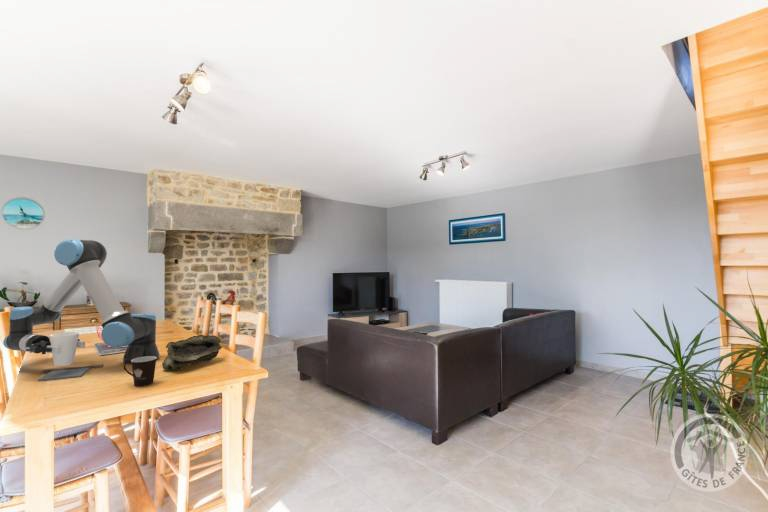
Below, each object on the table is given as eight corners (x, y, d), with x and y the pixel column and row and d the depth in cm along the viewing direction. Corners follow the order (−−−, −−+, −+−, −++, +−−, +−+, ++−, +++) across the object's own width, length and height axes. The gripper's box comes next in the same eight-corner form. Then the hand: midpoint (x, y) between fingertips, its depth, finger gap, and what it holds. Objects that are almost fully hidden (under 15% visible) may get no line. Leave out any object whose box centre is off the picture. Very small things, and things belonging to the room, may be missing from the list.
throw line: (103, 366, 171) (103, 364, 171) (102, 367, 169) (102, 365, 169) (42, 372, 162) (42, 369, 162) (41, 373, 161) (41, 370, 161)
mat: (90, 369, 167) (90, 367, 167) (81, 376, 156) (81, 375, 156) (51, 372, 161) (51, 371, 161) (38, 381, 150) (38, 379, 150)
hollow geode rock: (218, 367, 186) (207, 343, 192) (230, 352, 181) (218, 328, 187) (161, 381, 162) (150, 353, 168) (173, 364, 158) (161, 336, 164)
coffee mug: (161, 382, 149) (161, 357, 150) (139, 388, 142) (139, 363, 142) (143, 378, 154) (143, 354, 154) (121, 384, 147) (121, 359, 147)
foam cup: (83, 360, 163) (83, 331, 164) (69, 366, 154) (70, 335, 154) (58, 361, 162) (59, 332, 162) (43, 367, 153) (44, 336, 153)
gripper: (63, 346, 174) (98, 350, 167) (3, 358, 152) (41, 363, 146) (63, 330, 174) (98, 333, 167) (4, 340, 153) (41, 344, 146)
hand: (71, 347), depth 157 cm, fingers closed on foam cup, 9 cm apart
